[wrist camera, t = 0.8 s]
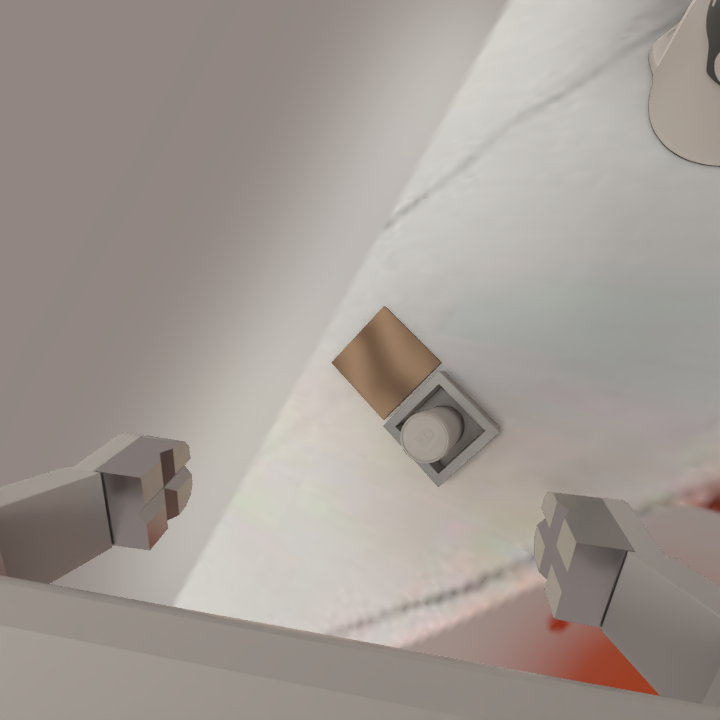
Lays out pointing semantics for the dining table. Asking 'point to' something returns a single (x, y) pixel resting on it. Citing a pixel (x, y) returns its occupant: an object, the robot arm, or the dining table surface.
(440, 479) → the can holder
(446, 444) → the beverage can
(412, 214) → the dining table surface
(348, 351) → the coaster
